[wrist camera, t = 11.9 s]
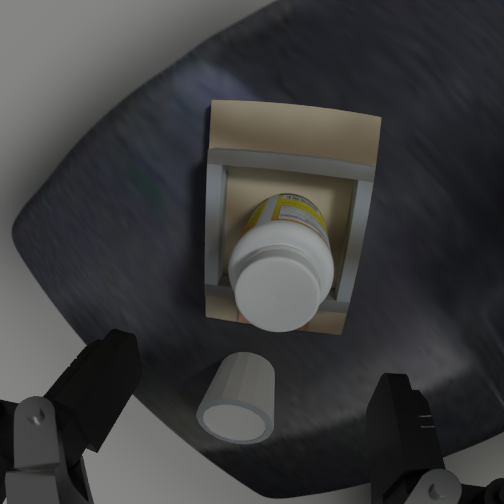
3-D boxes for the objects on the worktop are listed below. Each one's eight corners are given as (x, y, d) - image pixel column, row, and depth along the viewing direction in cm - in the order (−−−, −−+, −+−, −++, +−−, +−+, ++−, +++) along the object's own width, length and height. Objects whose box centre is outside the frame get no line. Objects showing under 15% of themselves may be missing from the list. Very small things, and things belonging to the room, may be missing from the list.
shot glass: (286, 353, 29) (279, 408, 23) (275, 399, 32) (267, 450, 26) (215, 341, 30) (194, 391, 24) (213, 387, 33) (196, 436, 26)
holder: (215, 101, 22) (203, 98, 19) (378, 117, 20) (388, 116, 18) (208, 310, 29) (199, 329, 26) (340, 328, 27) (342, 349, 25)
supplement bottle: (261, 268, 25) (235, 352, 16) (242, 200, 23) (199, 253, 14) (331, 254, 24) (345, 336, 15) (317, 183, 22) (326, 227, 13)
